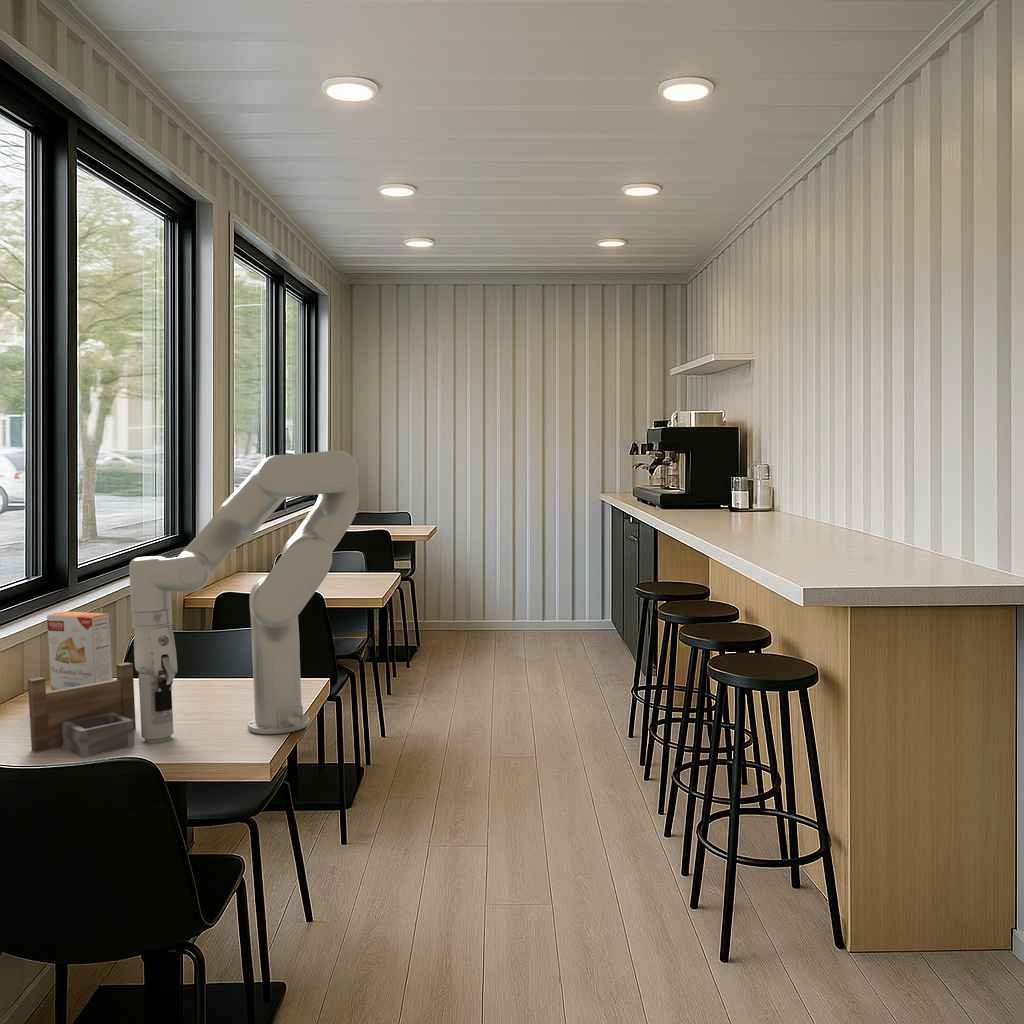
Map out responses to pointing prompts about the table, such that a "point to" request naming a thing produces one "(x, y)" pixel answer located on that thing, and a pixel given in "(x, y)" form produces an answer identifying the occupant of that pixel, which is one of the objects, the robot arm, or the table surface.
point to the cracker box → (79, 648)
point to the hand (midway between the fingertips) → (156, 706)
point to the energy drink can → (153, 712)
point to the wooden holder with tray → (84, 715)
